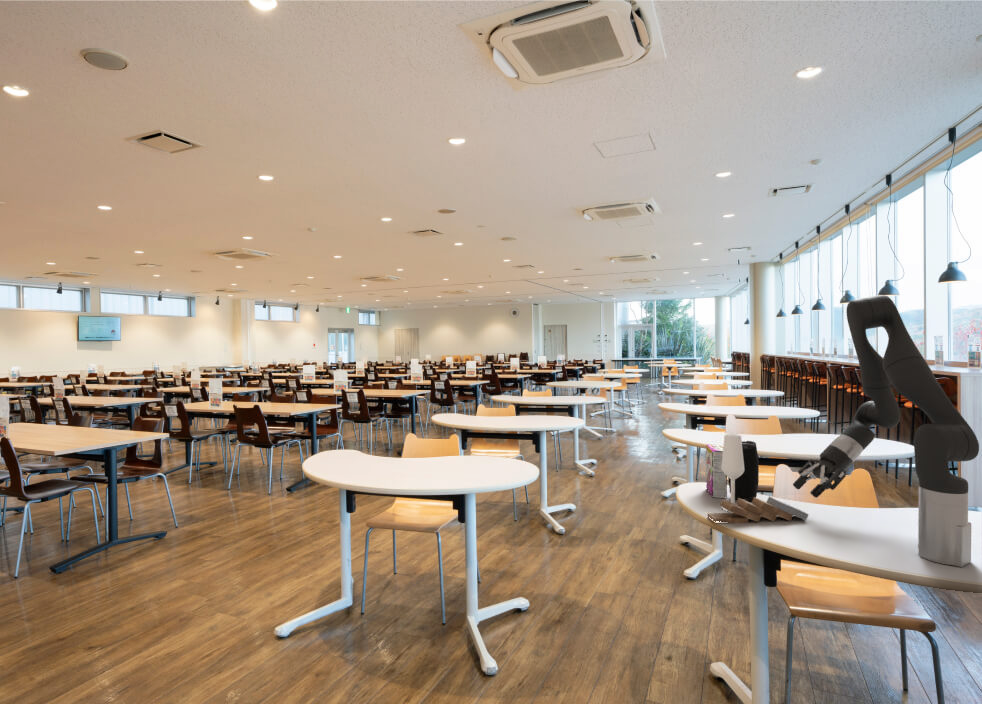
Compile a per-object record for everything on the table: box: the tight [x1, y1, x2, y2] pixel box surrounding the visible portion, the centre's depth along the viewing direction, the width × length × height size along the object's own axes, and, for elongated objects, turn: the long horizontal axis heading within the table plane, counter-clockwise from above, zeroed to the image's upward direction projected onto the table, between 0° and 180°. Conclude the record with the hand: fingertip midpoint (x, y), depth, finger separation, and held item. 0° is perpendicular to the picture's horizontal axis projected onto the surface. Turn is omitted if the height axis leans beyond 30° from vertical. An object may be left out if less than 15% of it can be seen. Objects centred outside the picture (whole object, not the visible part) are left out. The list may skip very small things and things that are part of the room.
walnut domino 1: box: [707, 512, 749, 524], centre depth 157 cm, size 2×5×10 cm
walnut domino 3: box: [735, 498, 777, 523], centre depth 158 cm, size 2×5×10 cm
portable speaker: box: [727, 440, 760, 503], centre depth 177 cm, size 9×9×20 cm
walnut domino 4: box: [751, 497, 794, 522], centre depth 158 cm, size 2×5×10 cm
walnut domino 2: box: [720, 499, 762, 523], centre depth 157 cm, size 2×5×10 cm
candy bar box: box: [705, 444, 728, 499], centre depth 184 cm, size 11×5×16 cm, turn 168°
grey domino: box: [766, 496, 809, 521], centre depth 158 cm, size 2×5×10 cm
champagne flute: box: [721, 433, 744, 513], centre depth 167 cm, size 7×7×24 cm
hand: (804, 491), depth 158 cm, fingers open, 8 cm apart
